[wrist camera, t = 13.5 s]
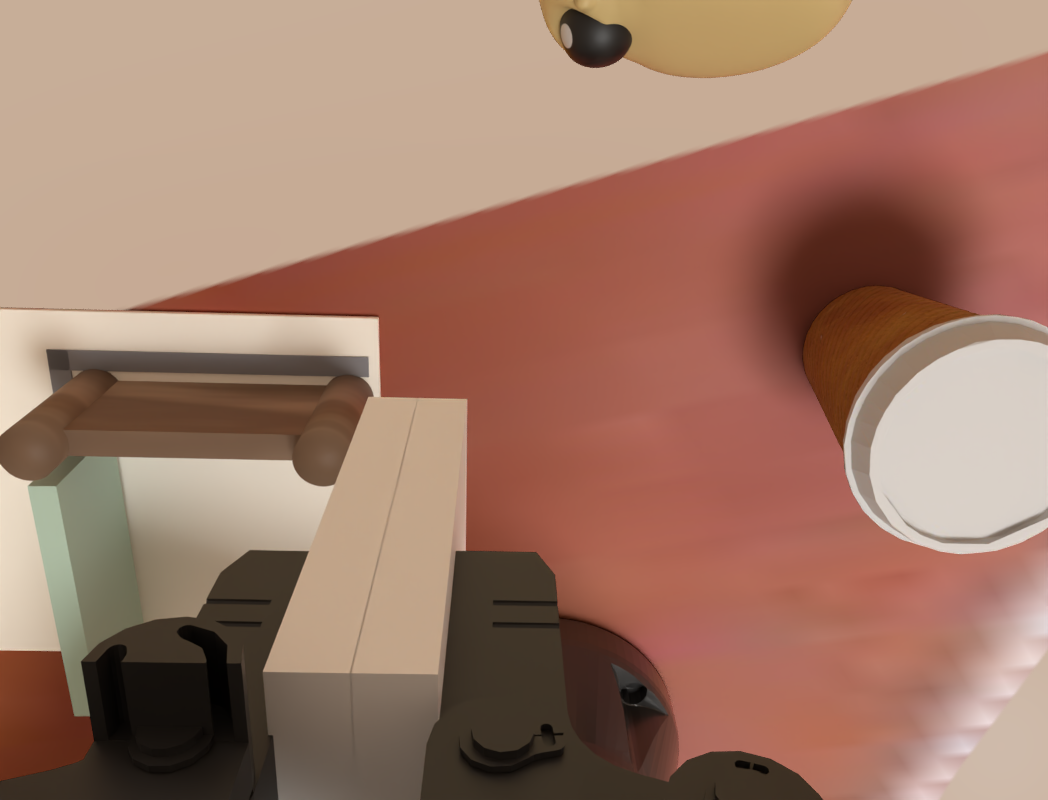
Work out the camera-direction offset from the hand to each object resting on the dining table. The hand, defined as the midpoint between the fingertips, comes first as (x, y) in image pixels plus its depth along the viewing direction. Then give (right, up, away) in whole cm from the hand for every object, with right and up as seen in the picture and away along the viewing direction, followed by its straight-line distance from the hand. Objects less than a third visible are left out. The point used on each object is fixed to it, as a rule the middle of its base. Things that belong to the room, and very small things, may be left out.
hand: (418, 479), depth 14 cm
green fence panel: (-19, -6, +33) cm, 38 cm away
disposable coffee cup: (+18, +4, +31) cm, 36 cm away
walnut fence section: (-13, +2, +31) cm, 33 cm away
